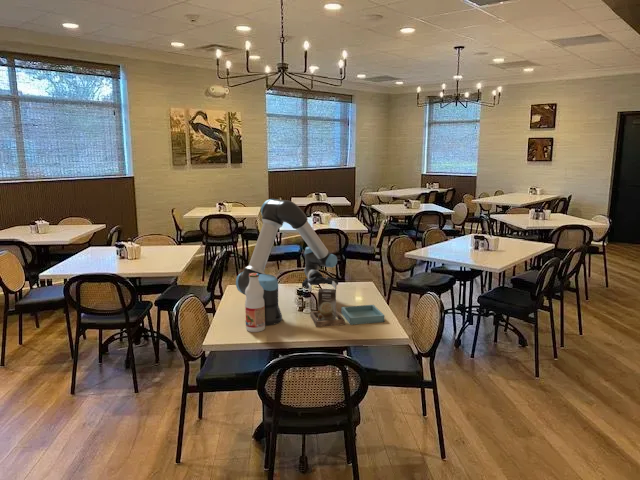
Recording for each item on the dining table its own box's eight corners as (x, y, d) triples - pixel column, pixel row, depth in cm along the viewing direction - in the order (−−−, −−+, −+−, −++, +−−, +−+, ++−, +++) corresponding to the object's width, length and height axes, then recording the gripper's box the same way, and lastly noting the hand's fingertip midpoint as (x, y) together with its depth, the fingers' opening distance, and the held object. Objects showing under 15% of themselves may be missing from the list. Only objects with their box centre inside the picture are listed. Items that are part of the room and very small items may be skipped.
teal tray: (350, 324, 251) (350, 318, 250) (341, 313, 268) (341, 307, 267) (384, 321, 254) (384, 315, 254) (373, 310, 272) (373, 304, 271)
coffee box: (317, 322, 255) (317, 292, 252) (318, 318, 261) (318, 288, 258) (335, 322, 254) (335, 292, 251) (336, 318, 260) (336, 288, 257)
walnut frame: (316, 326, 248) (316, 322, 247) (310, 316, 264) (310, 311, 263) (344, 324, 251) (344, 319, 250) (336, 314, 266) (336, 309, 266)
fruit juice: (265, 332, 242) (263, 276, 236) (245, 332, 241) (243, 276, 236) (265, 325, 251) (263, 271, 246) (246, 326, 250) (244, 271, 245)
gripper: (336, 281, 289) (346, 292, 269) (294, 285, 284) (300, 296, 263) (336, 269, 287) (345, 279, 267) (293, 272, 282) (300, 282, 262)
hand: (323, 287), depth 265 cm, fingers open, 13 cm apart
